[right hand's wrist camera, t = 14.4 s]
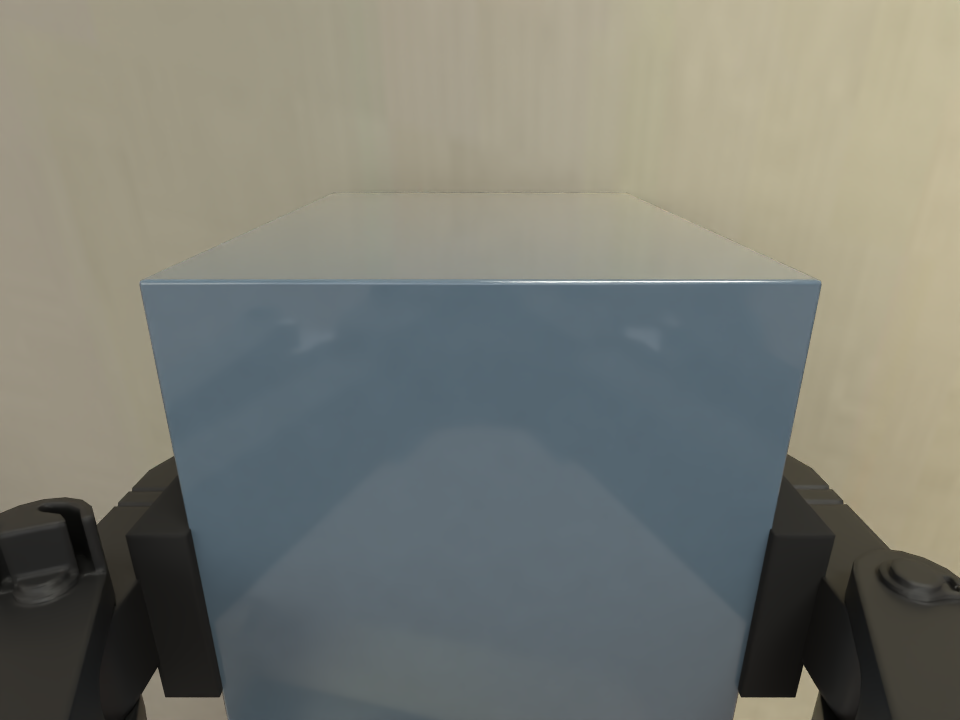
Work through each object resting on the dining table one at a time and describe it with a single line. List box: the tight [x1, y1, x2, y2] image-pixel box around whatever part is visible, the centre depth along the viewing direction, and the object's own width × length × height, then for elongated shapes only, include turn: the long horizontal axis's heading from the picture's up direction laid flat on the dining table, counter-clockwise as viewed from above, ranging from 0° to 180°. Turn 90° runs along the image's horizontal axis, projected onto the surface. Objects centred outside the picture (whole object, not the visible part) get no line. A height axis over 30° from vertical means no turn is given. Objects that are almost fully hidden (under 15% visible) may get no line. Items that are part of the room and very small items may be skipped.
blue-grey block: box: [140, 193, 821, 720], centre depth 12 cm, size 7×9×9 cm
